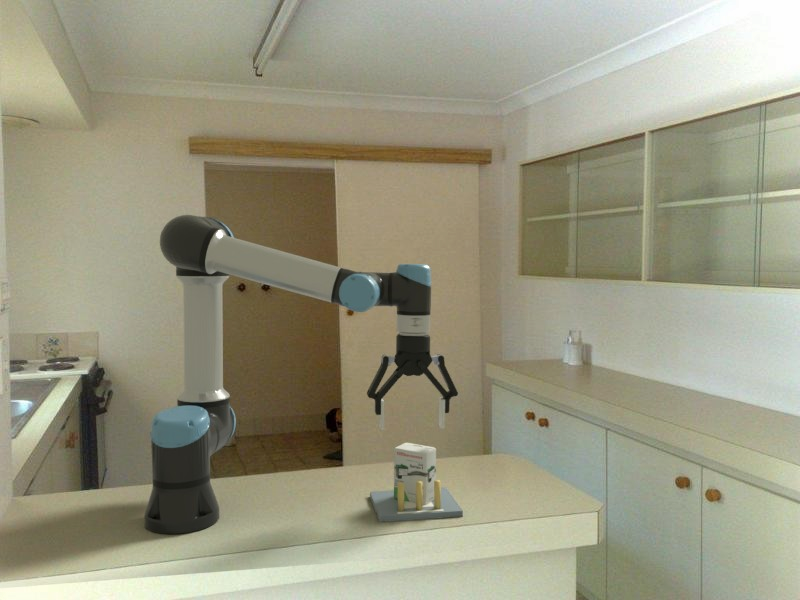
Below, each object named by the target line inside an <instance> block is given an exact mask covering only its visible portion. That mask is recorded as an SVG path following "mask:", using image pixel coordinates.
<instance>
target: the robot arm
mask: <svg viewBox="0 0 800 600" xmlns="http://www.w3.org/2000/svg"><path fill="white" fill-rule="evenodd" d="M159 246H160V247H159V248H160V250H161V253H162V255H163V257H164V258H165V259H166V261H167V262H169V264H171V265H172V266H174V267H175V278H176V279H177V280H179V281H180V283H182V289H183V291H182V292H183V296H182V297H183V383H184V385H183V387H184V388H183V390H182V391H181V392H180V393H179V394H178V395H177V398H176V399H177V401H176V402H177V403H176V406H173V407H171V408H166V409H163V410H161V411H159V412H157V413H156V414H155V415H154V416H153V418H152V420H151V428H150V437H149V438H150V445H151V448H150V449H151V468H152V473H151V474H152V488H151V491H150V494H149V495H150V497H149V498H148V503H147V505H146V509H145V512H144V527H145V529H147V530H149V531H151V532H154V533H158V534H165V535H171V534H172V535H174V534H175V535H176V534H185V533H193V532H196V531H200V530H204V529H207V528H209V527H211V526H213V525H214V524H216V523H218V521H219V520H220V505H219V503H218V500H217V497H216V495H215V492H214V489H213V486H212V483H211V464H210V461H211V460H210V459H211V457H212V455H213V454H215V453H216V452H218V451H220V450H221V449H222V448H224V447H225V446H226V445H227V444H228V443H229V441H230V440H231V438H232V436H233V435H234V433H235V430H236V425H237V419H236V414H235V411H234V409H233V408H232V407H231V403H230V401H231V399H230V398H231V396H230V393H229V392H228V391H227V390H226V389H225V388H224V364H223V363H224V358H223V356H224V353H223V352H224V350H223V349H224V345H223V344H224V341H223V340H224V338H223V337H224V336H223V334H224V332H223V331H224V330H223V329H224V325H223V324H224V323H223V307H224V306H223V301H224V300H223V299H224V298H223V285H224V283H225V282H226V281H227V280H228V279H229V278H230V275H231V276H234V277H237V278H241V279H245V280H248V281H252V282H256V283H259V284H263V285H267V286H270V287H273V288H278V289H282V290H284V291H288V292H292V293H295V294H299V295H303V296H307V297H311V298H314V299H318V300H321V301H325V302H329V303H331V304H334V305H338V306H342V307H344V308H347V309H348V310H349V311H352V312H357V313H364V312H368V311H369V310H371V309H372V308H374V307H396V328H395V329H396V332H397V333H398V334H396V336H395V337H396V342H395V343H396V344H395V345H396V347H395V355H394V356H390V355H389V356H388V355H387V354H383V355H381V362H380V366H379V367H378V370H377V371H376V373H375V375H374V378H373V380H372V381H371V383H370V385H369V387H368V390H366V391H367V392H366V395H367V397H368V398H369V399H373V400H374V412H375V415H376V416H379V422H378V423H379V424H378V425H379V427H378V428H379V430H380V431H381V432H382V431H385V423H386V421H385V419H386V417H385V411H386V410H385V407H386V406H385V405H386V404H385V400H384V397H385V396H386V394H387V393H388V392H389V391H390V390H391V389H392V387H393V386H394V385H395V384H396V383H397V381H398V380H399V379H401V377H402V376H403V375H404V376H406V377H412V376H416V377H419V376H420V377H421V376H422V375H425V377H426V378H427V379H428V380H429V382H430V383H431V384H432V386H433V387H434V388H436V390H437V391H438V392H439V394H440V395H441V396H442V397H439V402H438V427H439V428H440V429H441V430H444V429H446V425H445V424H446V414H449V413H450V400H451V399H452V398H453V397H458V395H459V392H458V390H457V388H456V386H455V383H454V382H453V379H452V378H451V375H450V373H449V371H448V370H447V367H446V363H445V362H446V361H445V357H444V355H442V354H440V353H438V354H437V355H433V356H432V354H431V335H429V333H430V332H431V307H432V304H431V302H432V273H431V272H432V270H431V267H430V266H429V265H428V264H425V263H420V264H419V263H417V264H416V263H399V264H398V265H397V269H396V271H395V272H394V271H393V272H377V271H375V272H372V271H370V272H369V271H357V270H356V271H355V270H351V269H348V268H343V267H340V266H336V265H334V264H329V263H325V262H323V261H319V260H314V259H311V258H308V257H304V256H300V255H296V254H295V253H294V254H293V253H290V252H286V251H284V250H283V251H282V250H279V249H275V248H272V247H269V246H265V245H262V244H257V243H254V242H250V241H248V240H244V239H243V240H242V239H239V238H236V237H235V236H234V234H233V232H232V230H231V229H230V228H229V227H228V226H227V225H226V224H224V223H223V222H222V221H220V220H218V219H216V218H213V217H208V216H198V215H193V214H182V215H179V216H176V217H174V218H172V219H170V221H168V222H167V223H166V224H165V225H164V226H163V228H162V230H161V232H160V235H159ZM432 362H433V363H434V365H435V366H437V368H438V370H439V372H440V374H441V376H442V378H443V380H444V383H445V385H446V387H447V388H448V391H447V390H446V389H445V387H444V386H443V385H442V384H441V383H440V382H439V381H438V380H439V379H437V378H436V377H435V376H434V374H433V373H432V372H431V370H430V369H429V366H430V365H431V364H432ZM392 363H394V364H395V365H396V366H397V367H396V369H394V371H393V373H392V374H391V375H390V376H389V378H388V379H387V380H386V381H385V382H384V383H383V385H381V387H380V388H379V386H380V384H381V383H382V380H383V378H384V376H385V374H386V372H387V370H388V367H390V366H391V365H392ZM378 388H379V389H378ZM377 390H378V391H377Z"/></svg>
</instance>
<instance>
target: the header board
mask: <svg viewBox="0 0 800 600" xmlns="http://www.w3.org/2000/svg"><path fill="white" fill-rule="evenodd" d="M441 483H442V482H441V480H439V479H436V480H435V481H434V500H433V501H432V502H430V503H428V504H426V505H423V491H422V481H417V482H416V503H414V502H409V501H405V500H404V483H403V482H398V499H395V498H394V489H391V490H390V489H389V490H378V491H377V490H376V491H373V490H372V491H370V492H369V497H371V498H370V500H371V503H372V505H373V508H374V511H375V513H377V514H376V517H377V518H378V522H379V523H382V522H383V521H385V522H395V521H396V522H397V521H410V520H411V521H413V520H414V521H415V520H426V519H427V520H428V519H429V520H430V519H441V518H443V519H444V518H457V517H458V518H461V517H463V516H464V514H463V513H464V511H463V509H462V508H461V506H460V505H459V504H458V502H457V501H456V499H455V498H454V496H453V495H452V494H451V493H450V491H449V489H448V488H447V487H446V486H442V485H441Z"/></svg>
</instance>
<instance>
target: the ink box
mask: <svg viewBox="0 0 800 600" xmlns="http://www.w3.org/2000/svg"><path fill="white" fill-rule="evenodd" d="M393 451H394V454H393V455H394V459H393V460H394V461H393V463H394V465H393V467H394V469H393V475H394V476H393V490H394V498H395V499H398V482H403V483H404V500H405V501H409V502H414V503H416V482H417V481H422V491H423V505H426V504H428V503H430V502H432V501H433V500H434V481H435V480H437V475H436V474H437V473H436V472H437V448H435V447H434V446H428V445H422V444H417V443H412V442H403V443H402V444H400V445H398V446H396V447H394V450H393Z"/></svg>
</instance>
